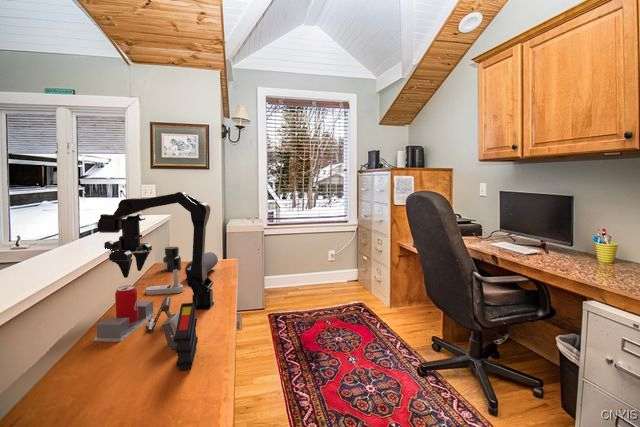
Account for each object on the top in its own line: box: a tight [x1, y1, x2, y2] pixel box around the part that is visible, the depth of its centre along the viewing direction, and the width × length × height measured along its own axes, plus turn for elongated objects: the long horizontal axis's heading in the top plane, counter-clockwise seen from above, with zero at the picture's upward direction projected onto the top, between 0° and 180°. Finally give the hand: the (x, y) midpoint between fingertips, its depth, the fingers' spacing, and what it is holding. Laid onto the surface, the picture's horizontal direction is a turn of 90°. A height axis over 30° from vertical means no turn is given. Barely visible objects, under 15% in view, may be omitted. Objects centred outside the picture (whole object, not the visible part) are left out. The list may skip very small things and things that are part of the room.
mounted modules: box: [95, 300, 154, 338], centre depth 111 cm, size 7×20×4 cm, turn 0°
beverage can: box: [114, 284, 139, 325], centre depth 110 cm, size 6×6×12 cm
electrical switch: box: [161, 310, 180, 351], centre depth 99 cm, size 9×5×9 cm, turn 2°
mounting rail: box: [93, 310, 156, 343], centre depth 111 cm, size 8×21×1 cm, turn 0°
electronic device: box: [145, 269, 184, 296], centre depth 145 cm, size 5×10×15 cm
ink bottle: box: [162, 246, 182, 272], centre depth 182 cm, size 10×9×12 cm
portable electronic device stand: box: [146, 296, 172, 334], centre depth 111 cm, size 9×8×8 cm
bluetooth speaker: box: [184, 251, 219, 274], centre depth 172 cm, size 23×9×10 cm, turn 178°
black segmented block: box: [174, 302, 199, 372], centre depth 90 cm, size 4×13×15 cm, turn 13°
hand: (132, 274), depth 126 cm, fingers open, 9 cm apart
